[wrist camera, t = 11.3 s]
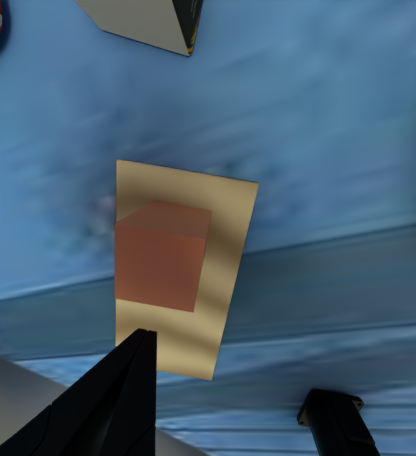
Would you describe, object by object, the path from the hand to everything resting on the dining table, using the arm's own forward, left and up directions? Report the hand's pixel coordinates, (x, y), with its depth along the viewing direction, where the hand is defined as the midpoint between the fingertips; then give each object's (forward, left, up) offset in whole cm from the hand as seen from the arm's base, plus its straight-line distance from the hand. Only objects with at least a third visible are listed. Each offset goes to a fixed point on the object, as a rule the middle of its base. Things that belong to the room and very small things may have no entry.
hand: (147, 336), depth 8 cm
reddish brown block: (+1, +1, -11) cm, 11 cm away
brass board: (-6, +1, -12) cm, 13 cm away
